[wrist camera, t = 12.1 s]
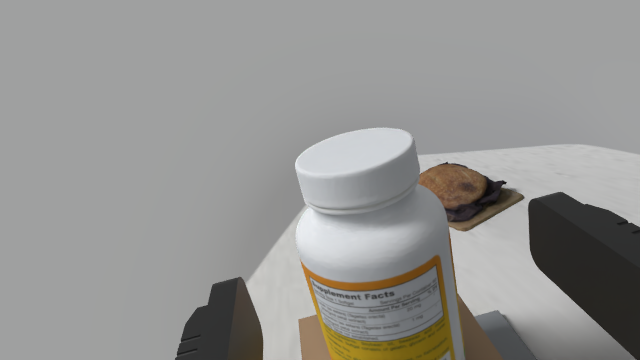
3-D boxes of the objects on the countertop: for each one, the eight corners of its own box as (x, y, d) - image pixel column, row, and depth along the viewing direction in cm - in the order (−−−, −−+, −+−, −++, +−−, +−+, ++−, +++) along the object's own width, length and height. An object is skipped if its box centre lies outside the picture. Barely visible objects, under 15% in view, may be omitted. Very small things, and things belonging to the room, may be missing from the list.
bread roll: (531, 202, 34) (530, 163, 33) (458, 243, 32) (453, 202, 30) (444, 172, 44) (440, 140, 42) (380, 201, 41) (374, 168, 39)
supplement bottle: (371, 304, 20) (329, 123, 17) (482, 333, 17) (460, 116, 13) (312, 391, 16) (239, 180, 13) (440, 449, 13) (392, 190, 10)
